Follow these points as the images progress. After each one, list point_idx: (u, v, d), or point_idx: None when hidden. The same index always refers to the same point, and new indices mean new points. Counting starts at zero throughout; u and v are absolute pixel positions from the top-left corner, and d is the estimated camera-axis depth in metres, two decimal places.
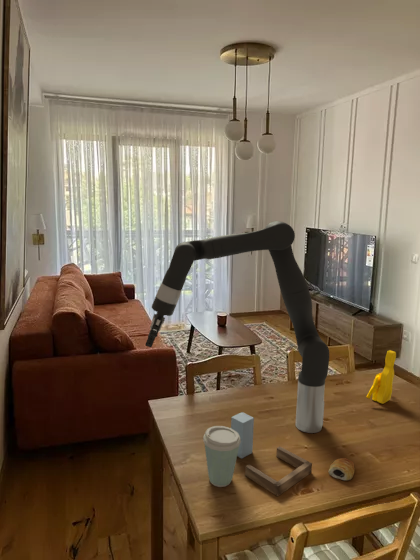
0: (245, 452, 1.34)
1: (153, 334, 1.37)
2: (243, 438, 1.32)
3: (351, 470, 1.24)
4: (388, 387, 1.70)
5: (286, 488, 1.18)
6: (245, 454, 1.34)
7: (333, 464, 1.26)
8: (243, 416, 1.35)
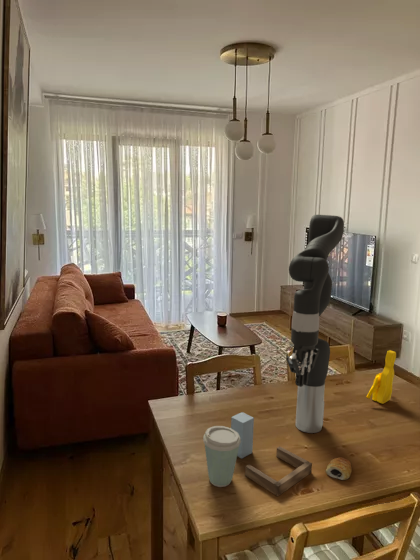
0: (245, 452, 1.34)
1: None
2: (243, 438, 1.32)
3: (348, 469, 1.25)
4: (388, 387, 1.70)
5: (286, 488, 1.18)
6: (245, 454, 1.34)
7: (330, 464, 1.26)
8: (243, 416, 1.35)
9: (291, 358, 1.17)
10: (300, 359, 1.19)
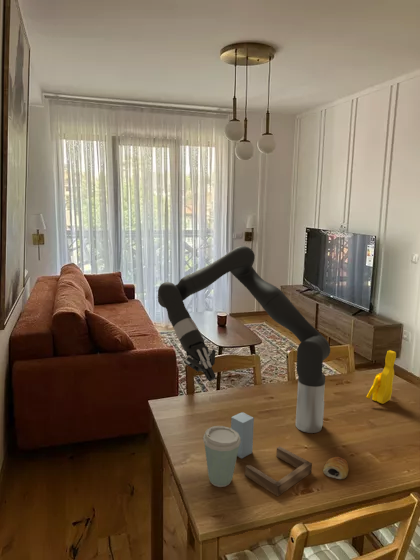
0: (245, 452, 1.34)
1: None
2: (243, 438, 1.32)
3: (345, 468, 1.25)
4: (388, 387, 1.70)
5: (286, 488, 1.18)
6: (245, 454, 1.34)
7: (327, 463, 1.26)
8: (243, 416, 1.35)
9: (186, 359, 1.37)
10: (196, 357, 1.39)
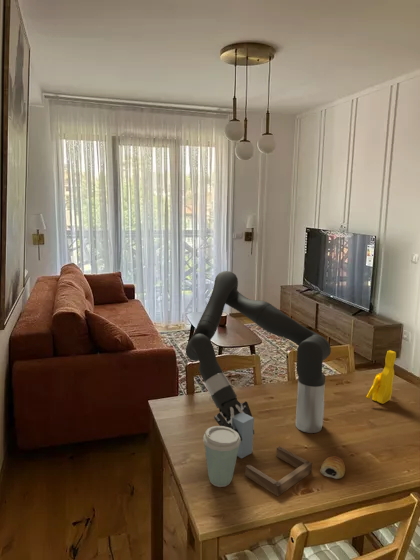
0: (245, 452, 1.34)
1: None
2: (243, 438, 1.32)
3: (342, 468, 1.25)
4: (388, 387, 1.70)
5: (286, 488, 1.18)
6: (245, 454, 1.34)
7: (325, 463, 1.26)
8: (243, 415, 1.35)
9: (217, 414, 1.33)
10: (227, 414, 1.35)
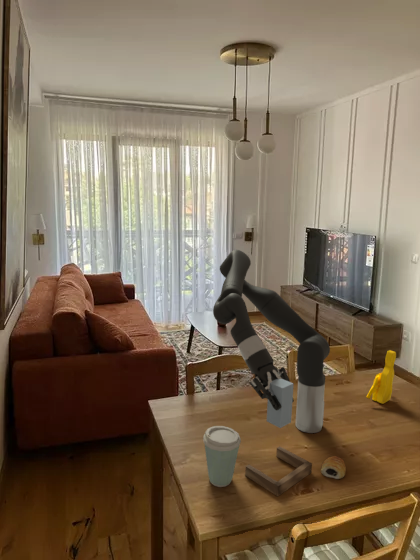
0: (284, 421, 1.21)
1: None
2: (282, 406, 1.19)
3: (343, 468, 1.25)
4: (388, 387, 1.70)
5: (286, 488, 1.18)
6: (284, 423, 1.21)
7: (325, 463, 1.26)
8: (281, 381, 1.22)
9: (253, 379, 1.20)
10: (264, 380, 1.21)
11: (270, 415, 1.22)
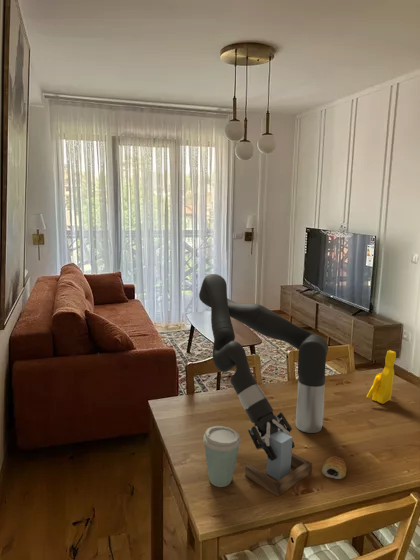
0: (283, 474, 1.23)
1: None
2: (281, 460, 1.21)
3: (344, 468, 1.25)
4: (388, 387, 1.70)
5: (286, 488, 1.18)
6: (283, 476, 1.23)
7: (326, 464, 1.26)
8: (281, 434, 1.24)
9: None
10: (262, 429, 1.24)
11: (270, 468, 1.24)
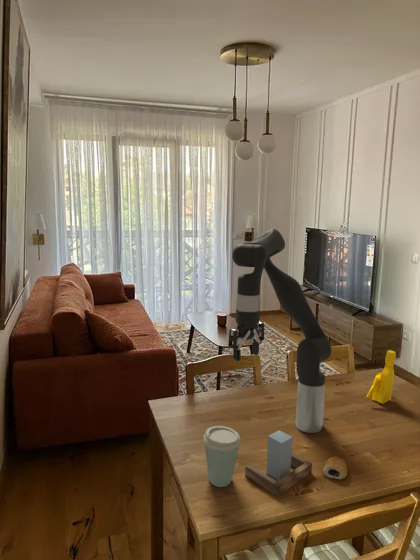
0: (283, 474, 1.23)
1: None
2: (281, 460, 1.21)
3: (345, 468, 1.25)
4: (388, 387, 1.70)
5: (286, 488, 1.18)
6: (283, 476, 1.23)
7: (327, 464, 1.26)
8: (281, 434, 1.24)
9: (234, 329, 1.30)
10: (242, 334, 1.31)
11: (270, 468, 1.24)
